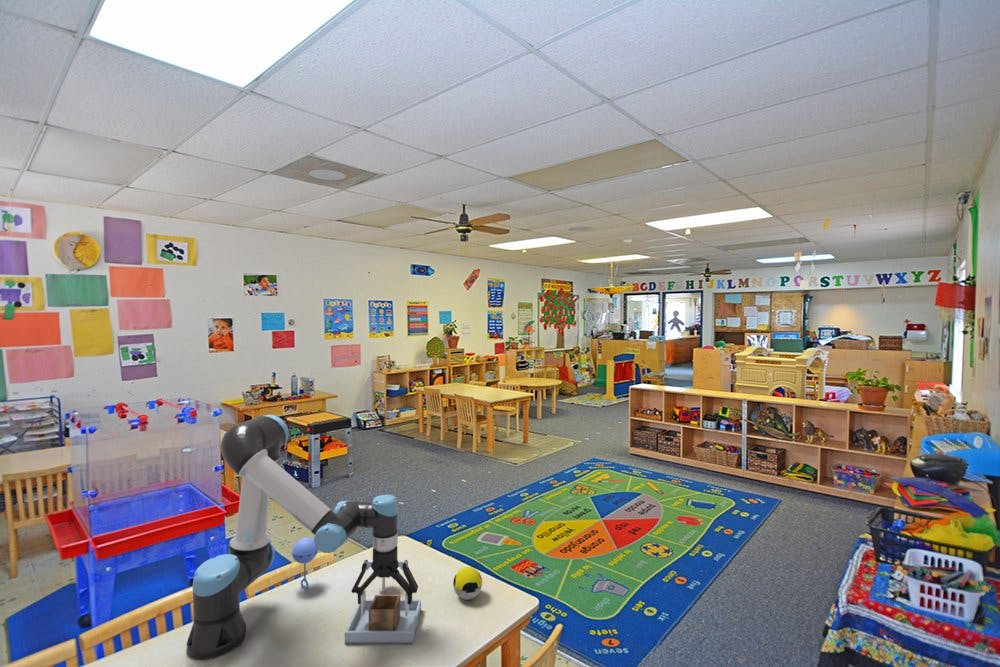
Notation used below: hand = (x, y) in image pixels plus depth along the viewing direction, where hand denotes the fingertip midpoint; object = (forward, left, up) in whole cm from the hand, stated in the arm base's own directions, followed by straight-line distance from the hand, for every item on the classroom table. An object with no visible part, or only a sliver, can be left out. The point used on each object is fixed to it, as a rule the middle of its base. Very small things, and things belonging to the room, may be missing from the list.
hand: (385, 613), depth 145 cm
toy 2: (+25, +15, -4) cm, 29 cm away
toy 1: (-5, +19, -4) cm, 20 cm away
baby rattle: (-33, +20, -4) cm, 39 cm away
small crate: (0, 0, -3) cm, 3 cm away
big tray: (0, 0, -4) cm, 4 cm away
